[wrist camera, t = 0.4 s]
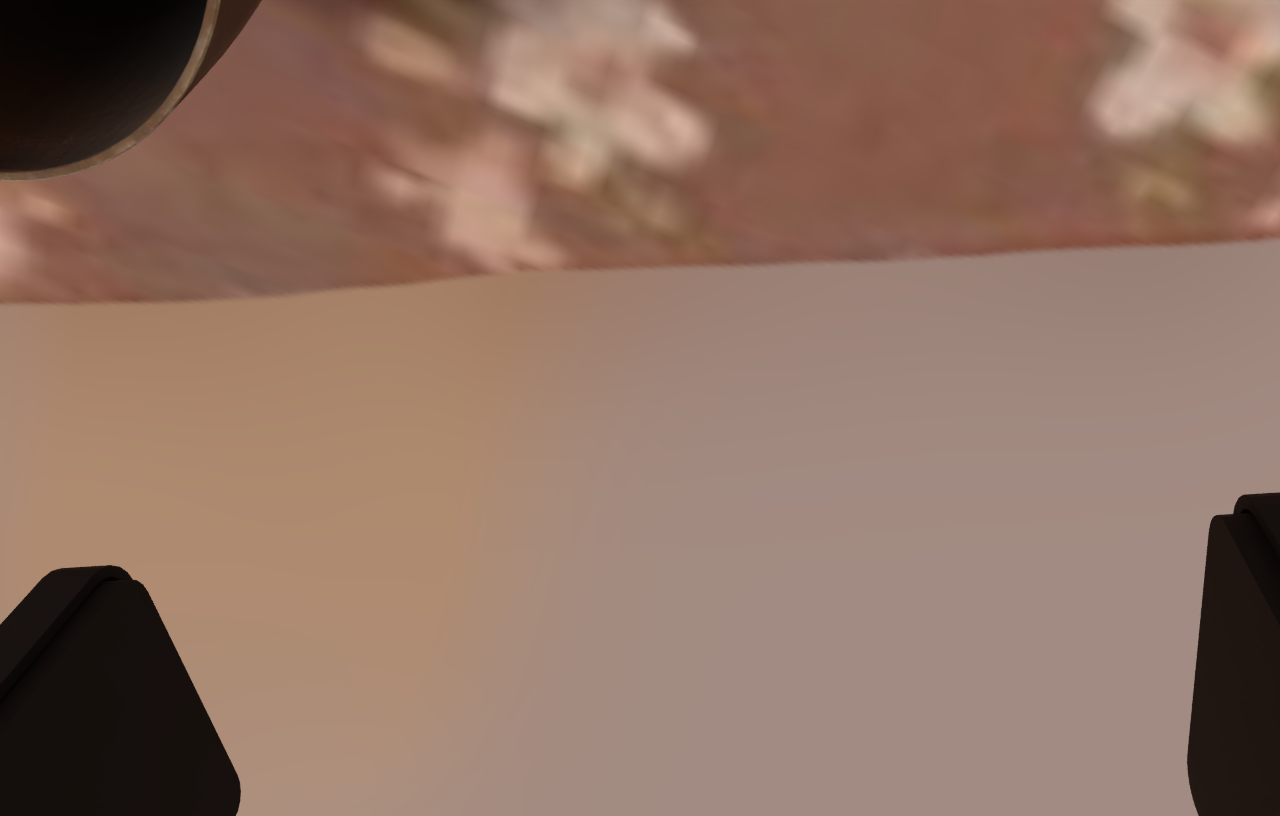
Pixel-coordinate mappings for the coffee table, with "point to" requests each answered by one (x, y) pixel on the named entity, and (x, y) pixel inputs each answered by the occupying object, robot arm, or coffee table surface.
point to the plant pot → (100, 75)
